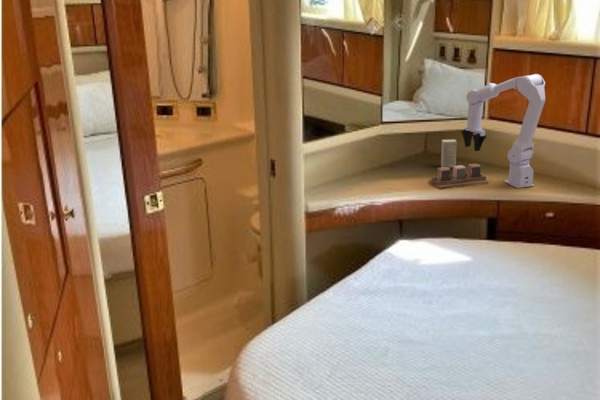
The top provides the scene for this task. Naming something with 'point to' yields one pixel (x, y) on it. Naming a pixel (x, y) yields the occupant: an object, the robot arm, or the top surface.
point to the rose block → (459, 172)
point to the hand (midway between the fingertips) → (472, 148)
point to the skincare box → (448, 153)
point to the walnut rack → (447, 181)
